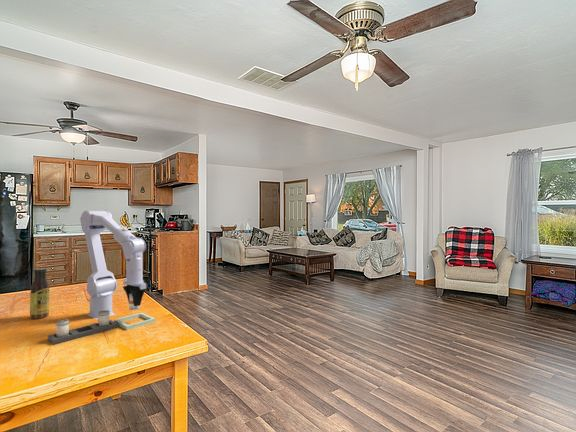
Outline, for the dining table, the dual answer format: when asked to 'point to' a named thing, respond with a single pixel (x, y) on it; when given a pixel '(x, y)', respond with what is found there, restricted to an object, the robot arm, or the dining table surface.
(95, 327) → the fuse block
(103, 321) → the fuse
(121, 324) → the tray
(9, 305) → the dining table surface
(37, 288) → the sauce bottle
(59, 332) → the fuse
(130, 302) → the fuse marked
